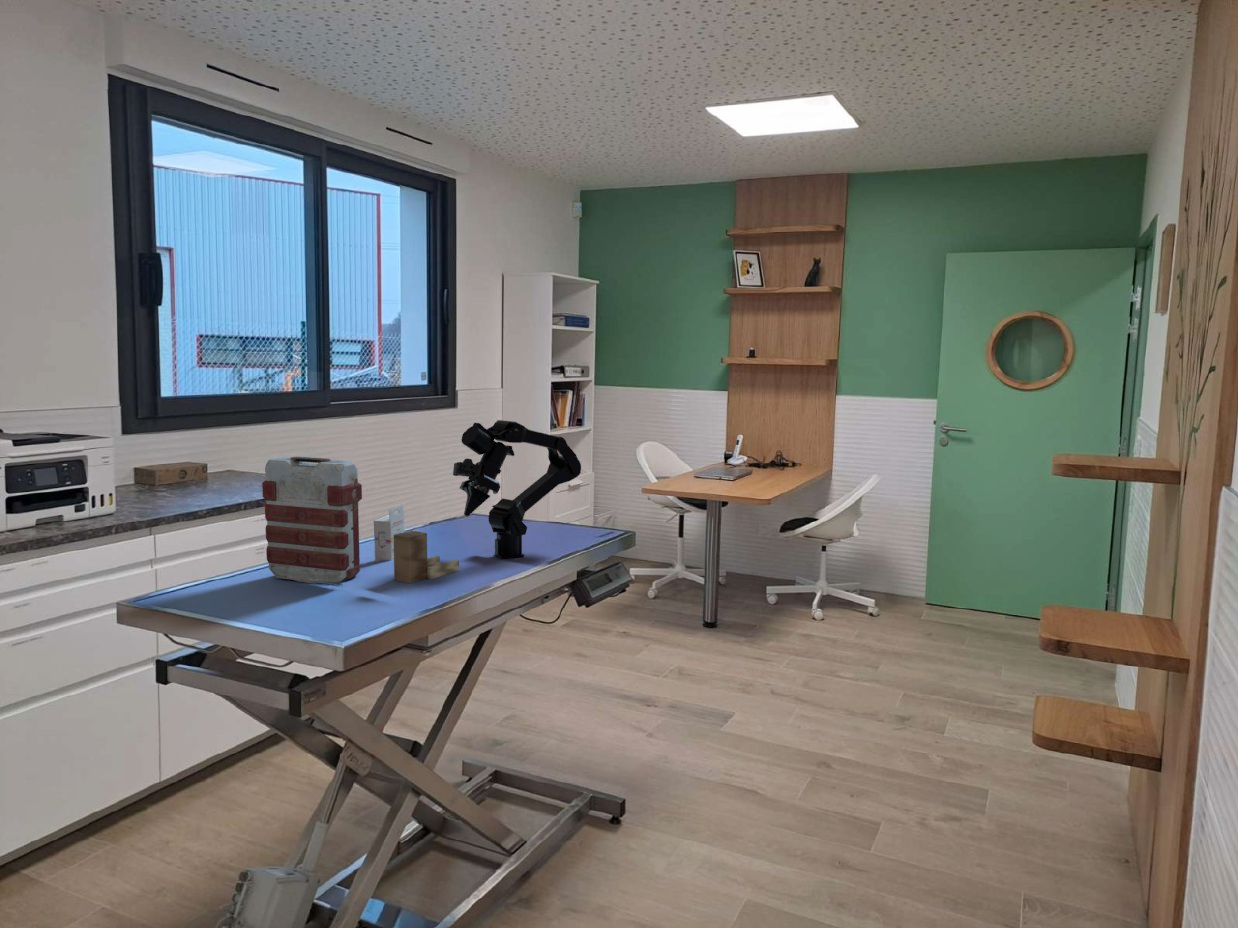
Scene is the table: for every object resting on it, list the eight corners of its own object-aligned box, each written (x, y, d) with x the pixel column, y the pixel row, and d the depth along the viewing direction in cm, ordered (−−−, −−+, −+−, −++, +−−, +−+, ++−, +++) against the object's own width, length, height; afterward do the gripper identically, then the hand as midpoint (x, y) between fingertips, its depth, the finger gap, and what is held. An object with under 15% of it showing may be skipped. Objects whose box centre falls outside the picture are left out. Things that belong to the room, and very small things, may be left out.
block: (412, 574, 221) (412, 530, 220) (427, 577, 218) (426, 533, 217) (394, 579, 216) (393, 534, 215) (409, 583, 213) (408, 537, 212)
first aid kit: (365, 580, 220) (362, 458, 216) (344, 588, 212) (340, 462, 209) (287, 571, 228) (283, 453, 224) (264, 579, 220) (259, 457, 216)
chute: (439, 568, 232) (438, 553, 232) (468, 574, 227) (468, 559, 226) (386, 583, 217) (385, 567, 217) (416, 590, 212) (415, 573, 211)
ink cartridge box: (388, 556, 245) (387, 503, 243) (405, 557, 244) (404, 504, 242) (373, 564, 236) (372, 508, 235) (391, 565, 236) (390, 509, 234)
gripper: (455, 453, 246) (430, 504, 242) (473, 444, 229) (446, 499, 225) (491, 471, 250) (467, 522, 245) (511, 464, 233) (485, 518, 228)
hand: (465, 515), depth 236 cm, fingers closed
